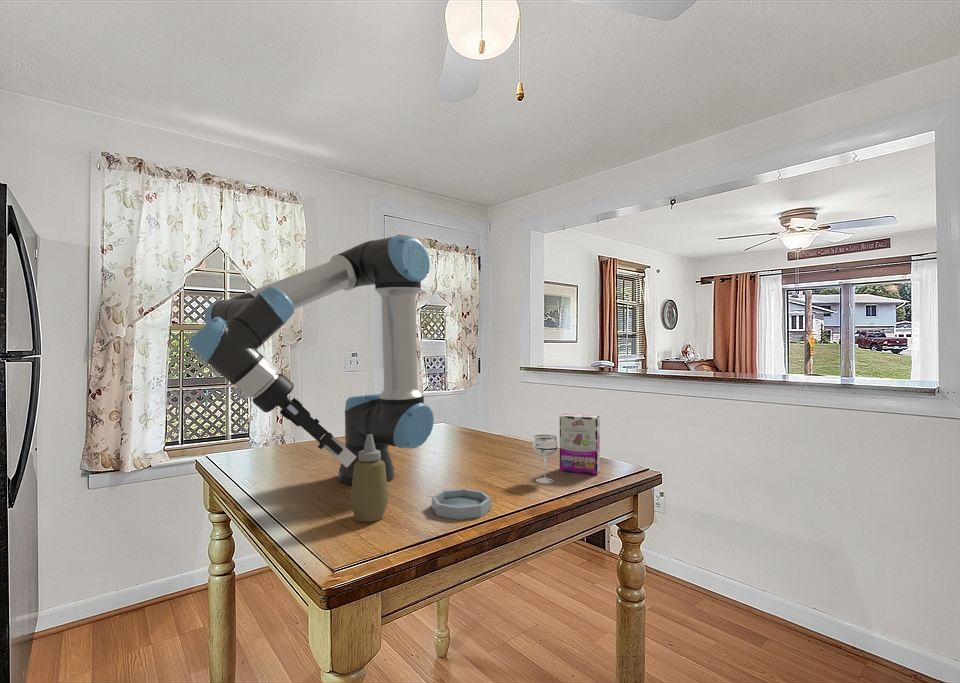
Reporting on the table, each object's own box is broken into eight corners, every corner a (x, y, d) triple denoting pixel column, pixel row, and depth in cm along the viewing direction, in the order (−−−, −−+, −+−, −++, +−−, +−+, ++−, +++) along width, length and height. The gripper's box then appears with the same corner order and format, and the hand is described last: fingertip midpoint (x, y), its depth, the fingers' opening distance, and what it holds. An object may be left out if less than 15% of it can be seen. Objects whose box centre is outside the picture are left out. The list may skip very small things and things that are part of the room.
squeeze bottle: (379, 526, 102) (379, 439, 102) (343, 523, 103) (343, 437, 103) (394, 512, 110) (394, 432, 110) (360, 510, 111) (360, 430, 111)
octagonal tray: (422, 513, 110) (423, 501, 110) (450, 496, 121) (450, 486, 121) (473, 522, 104) (473, 510, 104) (497, 504, 116) (497, 494, 116)
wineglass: (541, 475, 140) (541, 433, 140) (562, 480, 136) (562, 436, 136) (527, 481, 135) (528, 437, 135) (549, 485, 130) (549, 440, 130)
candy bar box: (600, 471, 145) (600, 415, 145) (597, 475, 141) (598, 418, 141) (562, 467, 150) (563, 413, 150) (558, 471, 145) (559, 415, 145)
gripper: (245, 393, 105) (318, 456, 113) (255, 408, 84) (344, 484, 91) (272, 368, 108) (341, 430, 115) (289, 376, 86) (373, 453, 93)
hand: (343, 454), depth 103 cm, fingers open, 13 cm apart
